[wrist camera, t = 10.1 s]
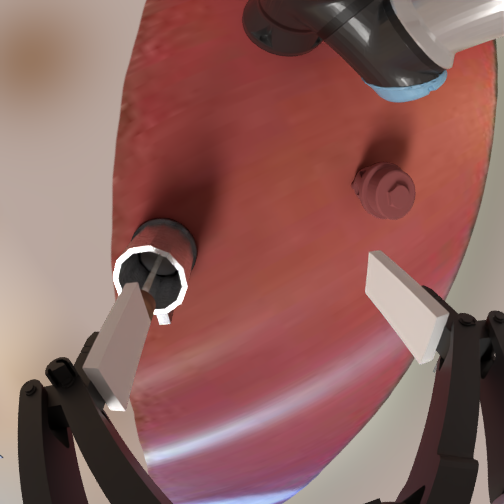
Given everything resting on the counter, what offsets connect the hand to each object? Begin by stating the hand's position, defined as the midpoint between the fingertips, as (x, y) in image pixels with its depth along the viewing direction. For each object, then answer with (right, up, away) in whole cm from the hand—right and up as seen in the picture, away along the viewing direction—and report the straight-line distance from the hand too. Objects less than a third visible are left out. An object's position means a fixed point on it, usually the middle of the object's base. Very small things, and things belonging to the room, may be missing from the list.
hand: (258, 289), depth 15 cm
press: (-17, +1, +37) cm, 41 cm away
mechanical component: (+22, +15, +36) cm, 45 cm away
